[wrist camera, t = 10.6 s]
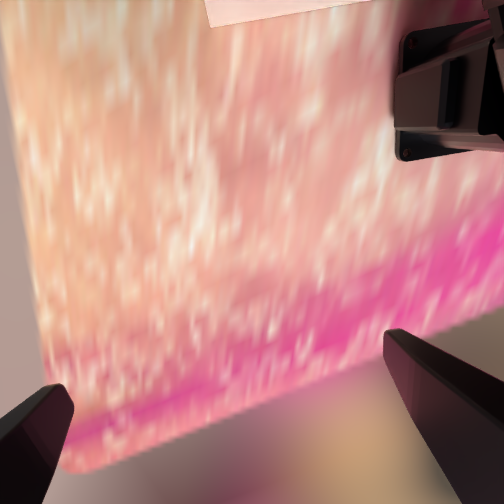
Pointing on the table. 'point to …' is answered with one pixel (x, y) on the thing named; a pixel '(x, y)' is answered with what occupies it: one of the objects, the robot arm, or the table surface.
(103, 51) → the table surface
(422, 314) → the table surface
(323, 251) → the table surface
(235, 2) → the socket block
